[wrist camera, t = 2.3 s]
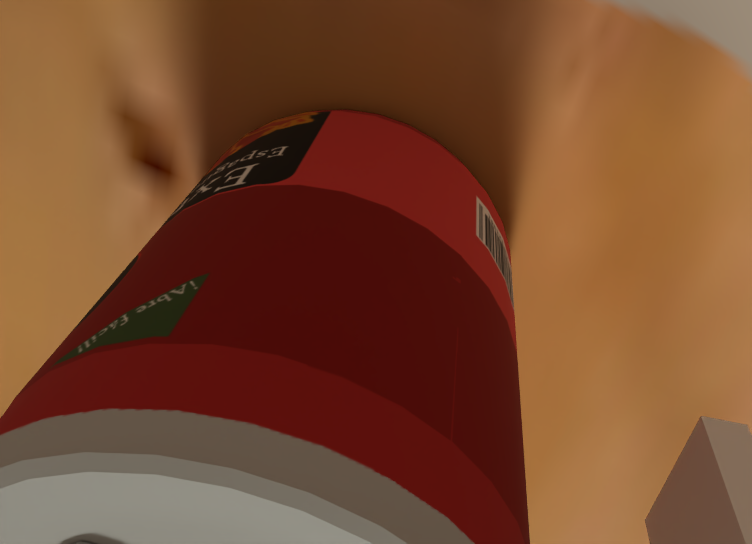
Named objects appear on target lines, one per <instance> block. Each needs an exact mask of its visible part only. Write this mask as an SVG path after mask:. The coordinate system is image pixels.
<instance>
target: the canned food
mask: <svg viewBox="0 0 752 544" xmlns="http://www.w3.org/2000/svg"><path fill="white" fill-rule="evenodd" d="M0 544H530V539H529V524H528V509H527V494H526V480H525V465H524V450H523V435H522V420H521V405H520V391H519V376H518V361H517V346H516V331H515V316H514V302H513V287H512V272H511V257H510V248H509V245H508V241H507V237H506V234H505V230H504V227H503V223H502V220H501V218H500V217H499V215H498V213H497V211H496V209H495V207H494V205H493V203H492V201H491V199H490V197H489V196H488V194H487V192H486V191H485V190H484V189H483V187H482V186H481V185H480V184H479V183H478V181H477V180H476V179H475V178H474V176H473V175H472V174H471V173H470V171H469V170H468V169H467V168H466V167H465V166H464V164H463V163H462V162H461V161H460V160H459V159H458V158H456V157H455V156H454V155H453V154H452V153H450V152H449V151H448V150H447V149H446V148H445V147H443V146H442V145H441V144H440V143H439V142H437V141H436V140H435V139H433V138H431V137H429V136H427V135H426V134H424V133H422V132H420V131H419V130H417V129H415V128H413V127H412V126H410V125H408V124H405V123H402V122H399V121H396V120H393V119H391V118H388V117H385V116H382V115H379V114H374V113H367V112H360V111H354V110H347V109H345V110H323V111H311V112H305V113H301V114H297V115H293V116H289V117H285V118H281V119H278V120H274V121H272V122H270V123H268V124H266V125H264V126H262V127H260V128H258V129H256V130H254V131H252V132H250V133H248V134H246V135H245V136H244V137H243V138H242V139H240V140H239V141H238V142H237V143H236V144H234V145H233V146H232V147H231V148H230V149H228V150H227V151H226V152H225V153H224V154H223V155H222V156H221V157H220V159H219V160H218V161H217V162H216V163H215V164H214V166H213V167H212V168H211V169H210V170H209V171H208V173H207V174H206V175H205V176H204V177H203V179H202V180H201V181H200V182H199V183H198V184H197V186H196V187H195V188H194V189H193V190H192V191H191V193H190V194H189V195H188V196H187V197H186V198H185V200H184V201H183V202H182V203H181V204H180V205H179V207H178V208H177V209H176V210H175V211H174V212H173V214H172V215H171V216H170V217H169V218H168V219H167V221H166V222H165V223H164V224H163V225H162V227H161V228H160V229H159V230H158V231H157V232H156V234H155V235H154V236H153V237H152V238H151V239H150V241H149V242H148V243H147V244H146V245H145V246H144V248H143V249H142V250H141V251H140V252H139V253H138V255H137V256H136V257H135V258H134V259H133V260H132V262H131V263H130V264H129V265H128V266H127V267H126V269H125V270H124V271H123V272H122V273H121V274H120V276H119V277H118V278H117V279H116V280H115V282H114V283H113V284H112V285H111V286H110V287H109V289H108V290H107V291H106V292H105V293H104V294H103V296H102V297H101V298H100V299H99V300H98V301H97V303H96V304H95V305H94V306H93V307H92V308H91V310H90V311H89V312H88V313H87V314H86V315H85V317H84V318H83V319H82V320H81V321H80V322H79V324H78V325H77V326H76V327H75V328H74V329H73V331H72V332H71V333H70V334H69V335H68V337H67V338H66V339H65V340H64V341H63V342H62V344H61V345H60V346H59V347H58V348H57V349H56V351H55V352H54V353H53V354H52V355H51V356H50V358H49V359H48V360H47V361H46V362H45V363H44V365H43V366H42V367H41V368H40V369H39V370H38V372H37V373H36V374H35V375H34V376H33V377H32V379H31V380H30V381H29V382H28V383H27V385H26V386H25V387H24V388H23V389H22V390H21V392H20V393H19V394H18V395H17V396H16V397H15V399H14V400H13V402H12V403H11V405H10V406H9V407H8V409H7V410H6V412H5V413H4V415H3V416H2V417H1V418H0Z"/></svg>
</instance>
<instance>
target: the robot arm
mask: <svg viewBox="0 0 752 544" xmlns="http://www.w3.org/2000/svg"><path fill="white" fill-rule="evenodd" d="M645 523H646V527H647V532H648V536H649V541H650V544H752V436H751V433H750V431H749V429H748V426H747V425H745V424H740V423H734V422H729V421H724V420H719V419H714V418H709V417H704V416H701V417H700V419H699V421H698V423H697V424H696V426H695V428H694V430H693V432H692V434H691V436H690V437H689V439H688V441H687V443H686V445H685V447H684V449H683V450H682V452H681V454H680V456H679V458H678V460H677V462H676V463H675V465H674V467H673V469H672V471H671V473H670V475H669V477H668V478H667V480H666V482H665V484H664V486H663V488H662V490H661V491H660V493H659V495H658V497H657V499H656V501H655V503H654V504H653V506H652V508H651V510H650V512H649V514H648V516H647V517H646V519H645Z"/></svg>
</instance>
